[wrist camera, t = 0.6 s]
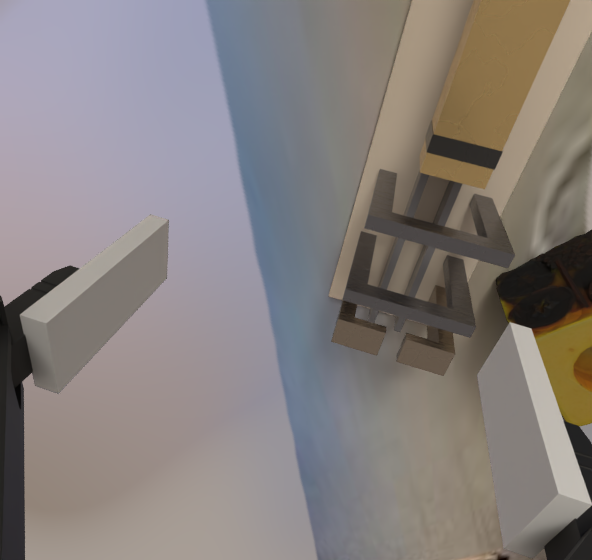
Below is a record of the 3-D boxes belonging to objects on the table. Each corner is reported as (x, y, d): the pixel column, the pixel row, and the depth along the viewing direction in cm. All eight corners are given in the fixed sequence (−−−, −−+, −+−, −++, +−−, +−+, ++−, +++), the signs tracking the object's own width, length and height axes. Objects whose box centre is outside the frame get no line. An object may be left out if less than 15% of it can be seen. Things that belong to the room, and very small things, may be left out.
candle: (610, 217, 35) (669, 279, 27) (661, 306, 38) (729, 387, 30) (490, 276, 40) (508, 343, 32) (542, 351, 43) (572, 431, 35)
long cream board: (499, -307, 23) (509, -349, 21) (735, -272, 22) (779, -312, 19) (329, 292, 45) (324, 309, 43) (443, 325, 44) (445, 345, 41)
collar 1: (380, 166, 37) (368, 214, 28) (490, 194, 36) (515, 255, 27) (377, 176, 38) (364, 228, 29) (485, 205, 37) (507, 268, 28)
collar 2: (361, 227, 41) (345, 289, 32) (462, 255, 40) (475, 327, 31) (359, 236, 41) (342, 299, 32) (458, 264, 40) (470, 337, 31)
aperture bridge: (354, 257, 42) (338, 318, 34) (447, 284, 42) (455, 354, 33) (348, 277, 44) (331, 341, 35) (438, 304, 43) (443, 375, 34)
